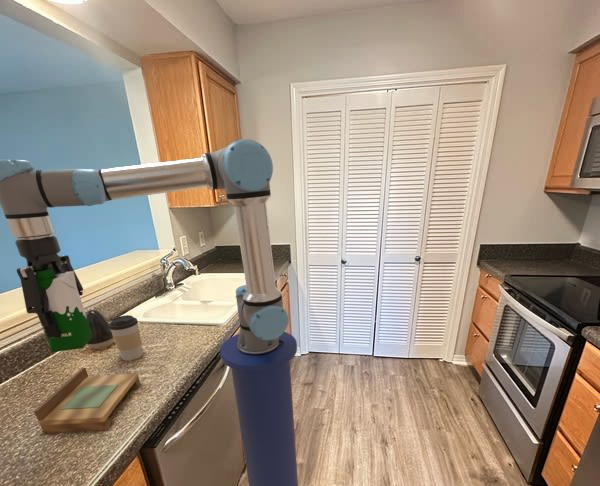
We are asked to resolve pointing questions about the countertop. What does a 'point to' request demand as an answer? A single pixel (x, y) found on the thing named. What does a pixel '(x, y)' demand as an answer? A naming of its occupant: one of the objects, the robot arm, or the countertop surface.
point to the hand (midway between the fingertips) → (68, 328)
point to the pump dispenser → (99, 330)
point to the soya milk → (65, 310)
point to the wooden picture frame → (84, 402)
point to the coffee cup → (127, 337)
